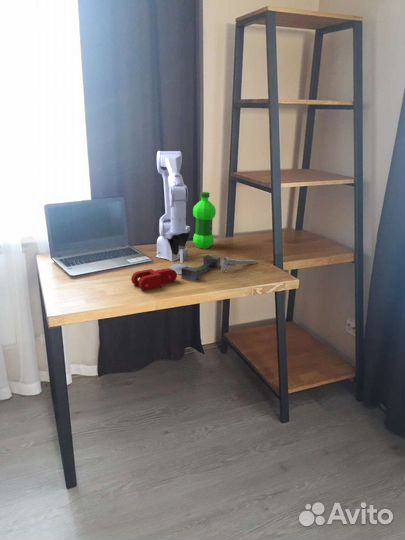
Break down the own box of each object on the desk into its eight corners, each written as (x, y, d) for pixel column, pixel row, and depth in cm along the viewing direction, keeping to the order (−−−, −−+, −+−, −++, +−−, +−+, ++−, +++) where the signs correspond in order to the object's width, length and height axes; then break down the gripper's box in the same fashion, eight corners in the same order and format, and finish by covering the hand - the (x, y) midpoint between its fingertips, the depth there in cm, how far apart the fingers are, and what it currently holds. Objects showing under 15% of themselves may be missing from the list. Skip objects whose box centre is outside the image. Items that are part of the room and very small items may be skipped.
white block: (169, 260, 175) (169, 247, 174) (174, 258, 179) (174, 244, 177) (182, 263, 173) (182, 249, 171) (187, 260, 176) (187, 247, 174)
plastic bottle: (196, 243, 214) (197, 190, 205) (217, 245, 210) (219, 192, 202) (188, 248, 205) (189, 193, 196) (210, 251, 201) (212, 195, 193)
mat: (162, 271, 175) (162, 270, 175) (175, 264, 183) (175, 263, 183) (179, 275, 171) (179, 274, 171) (192, 267, 180) (192, 266, 179)
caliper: (222, 273, 175) (223, 258, 173) (220, 272, 176) (221, 257, 174) (257, 263, 188) (258, 248, 186) (255, 262, 189) (256, 248, 187)
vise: (181, 278, 168) (181, 268, 166) (206, 264, 184) (207, 254, 183) (195, 281, 165) (195, 271, 164) (219, 266, 182) (220, 257, 180)
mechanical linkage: (141, 292, 154) (140, 278, 153) (131, 286, 160) (131, 272, 158) (180, 283, 163) (180, 270, 162) (169, 277, 169) (169, 265, 167)
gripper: (177, 223, 163) (176, 259, 167) (196, 216, 175) (196, 249, 179) (160, 220, 166) (161, 255, 170) (181, 213, 178) (180, 246, 182)
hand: (177, 252), depth 175 cm, fingers closed on white block, 4 cm apart
